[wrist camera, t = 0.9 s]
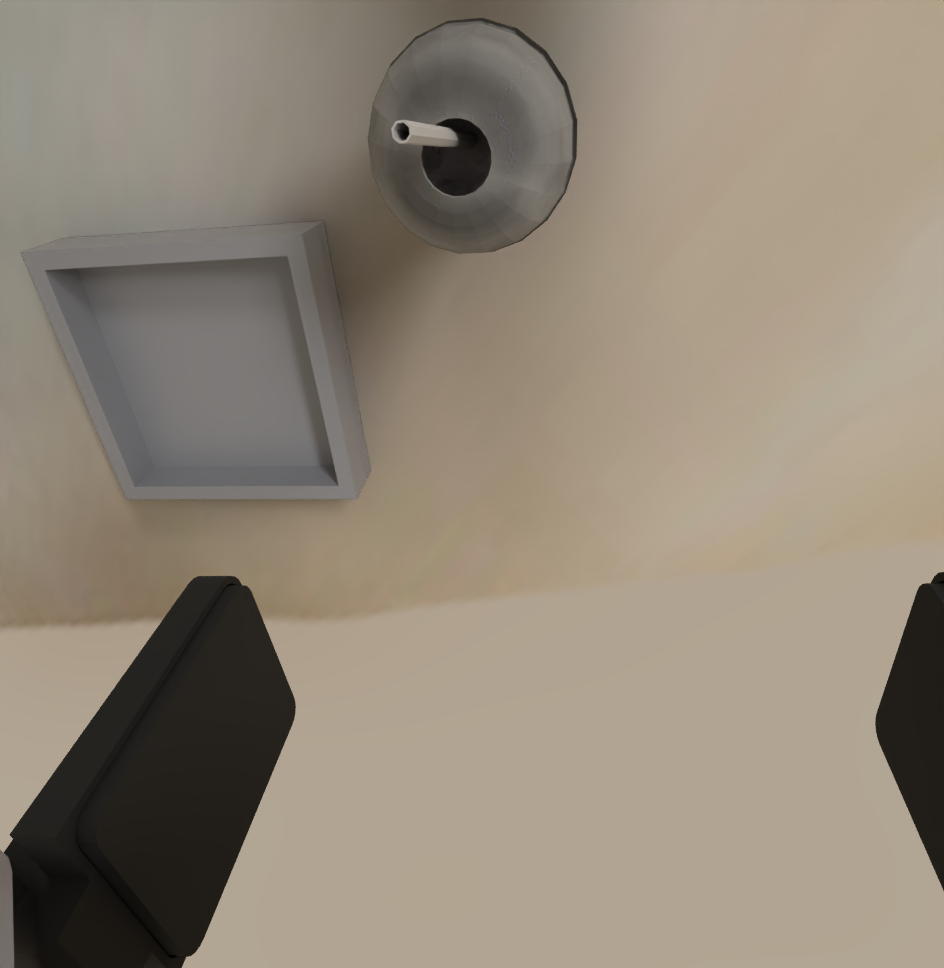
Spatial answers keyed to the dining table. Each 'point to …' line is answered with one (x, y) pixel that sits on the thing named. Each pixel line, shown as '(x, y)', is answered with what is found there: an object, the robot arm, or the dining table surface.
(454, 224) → the beverage cup
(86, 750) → the robot arm
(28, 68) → the dining table surface
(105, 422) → the tray
